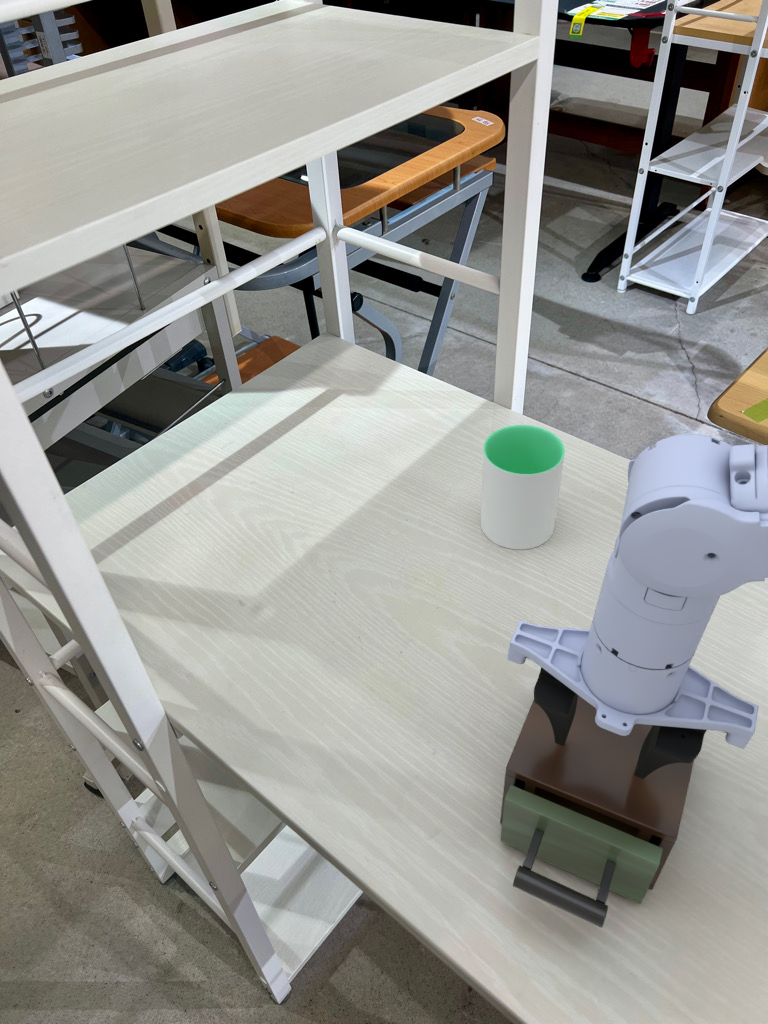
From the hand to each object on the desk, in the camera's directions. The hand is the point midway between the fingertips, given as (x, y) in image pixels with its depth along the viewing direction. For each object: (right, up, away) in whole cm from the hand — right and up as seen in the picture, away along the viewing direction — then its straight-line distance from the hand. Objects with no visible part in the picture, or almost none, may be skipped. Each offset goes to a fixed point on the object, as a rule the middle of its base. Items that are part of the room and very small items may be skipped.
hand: (602, 748), depth 51 cm
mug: (0, +16, +32) cm, 36 cm away
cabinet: (+2, -5, +8) cm, 10 cm away
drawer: (0, -8, +5) cm, 9 cm away
